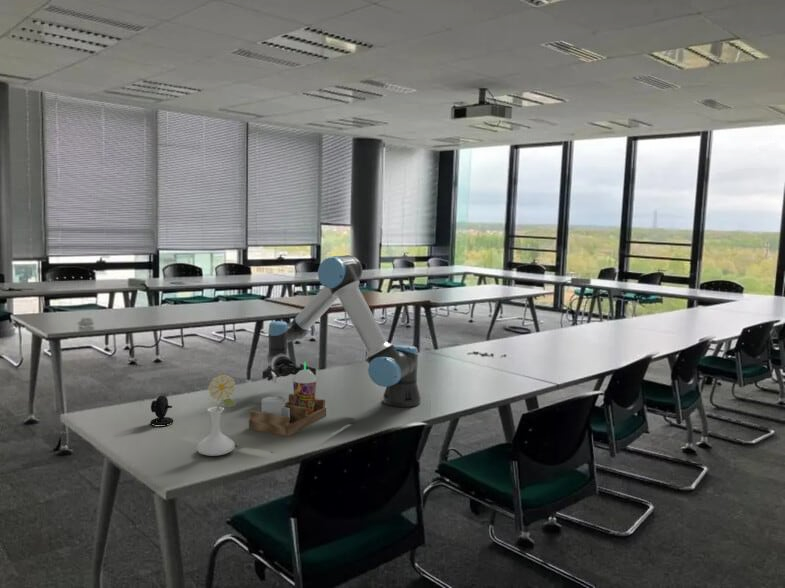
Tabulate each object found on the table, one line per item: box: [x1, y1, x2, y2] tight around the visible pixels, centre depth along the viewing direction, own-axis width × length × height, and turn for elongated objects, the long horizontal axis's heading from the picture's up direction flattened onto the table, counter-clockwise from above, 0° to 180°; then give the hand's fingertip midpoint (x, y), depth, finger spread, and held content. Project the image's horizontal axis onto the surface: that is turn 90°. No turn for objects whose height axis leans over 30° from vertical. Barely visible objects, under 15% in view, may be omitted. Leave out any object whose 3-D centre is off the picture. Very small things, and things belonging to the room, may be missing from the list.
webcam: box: [150, 395, 174, 425], centre depth 217 cm, size 8×8×10 cm
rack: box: [248, 393, 327, 437], centre depth 218 cm, size 16×24×8 cm, turn 155°
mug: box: [261, 396, 290, 421], centre depth 213 cm, size 10×8×9 cm
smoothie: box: [292, 361, 317, 415], centre depth 223 cm, size 8×8×20 cm
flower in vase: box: [196, 374, 237, 457], centre depth 191 cm, size 13×11×25 cm
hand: (294, 378), depth 228 cm, fingers open, 13 cm apart
